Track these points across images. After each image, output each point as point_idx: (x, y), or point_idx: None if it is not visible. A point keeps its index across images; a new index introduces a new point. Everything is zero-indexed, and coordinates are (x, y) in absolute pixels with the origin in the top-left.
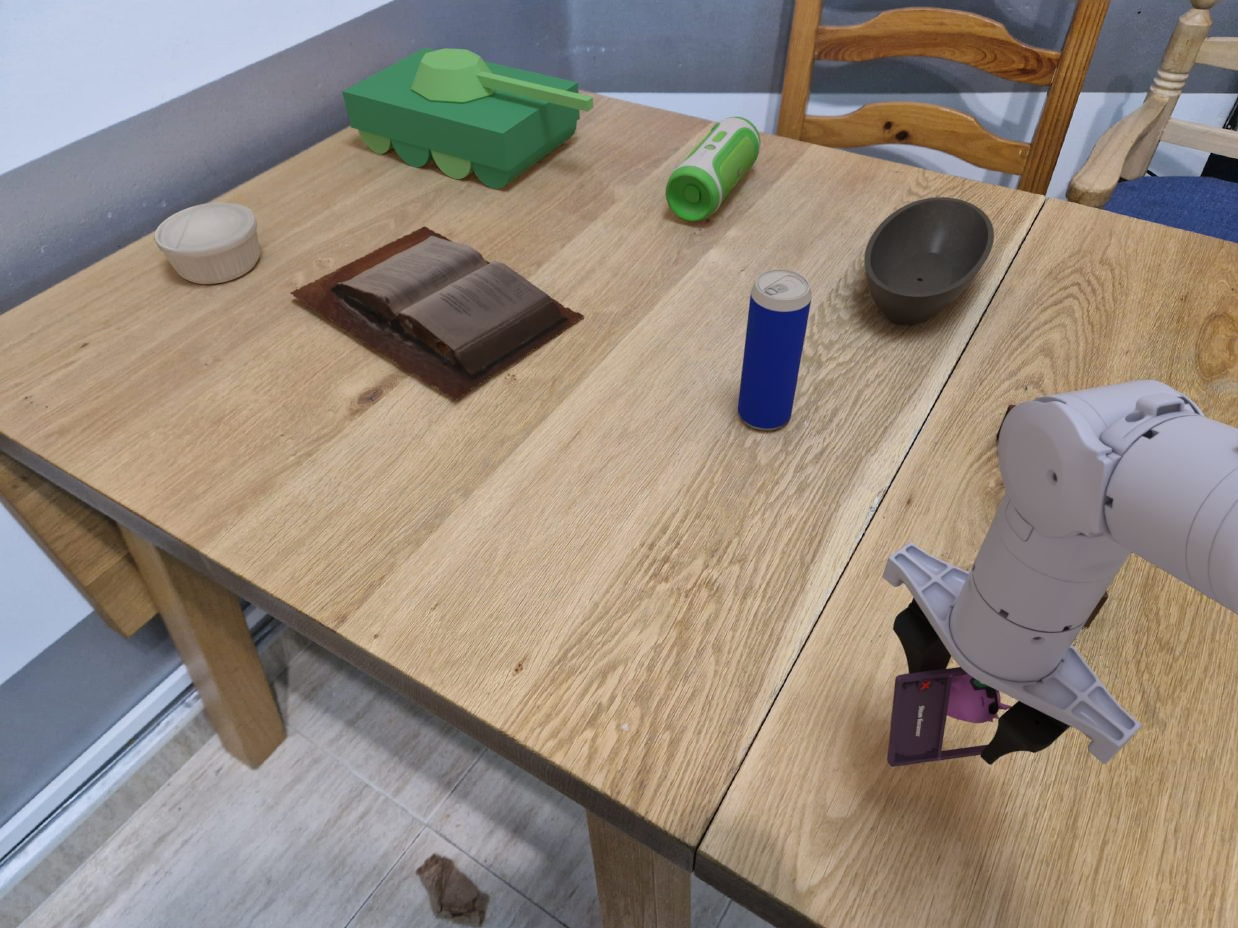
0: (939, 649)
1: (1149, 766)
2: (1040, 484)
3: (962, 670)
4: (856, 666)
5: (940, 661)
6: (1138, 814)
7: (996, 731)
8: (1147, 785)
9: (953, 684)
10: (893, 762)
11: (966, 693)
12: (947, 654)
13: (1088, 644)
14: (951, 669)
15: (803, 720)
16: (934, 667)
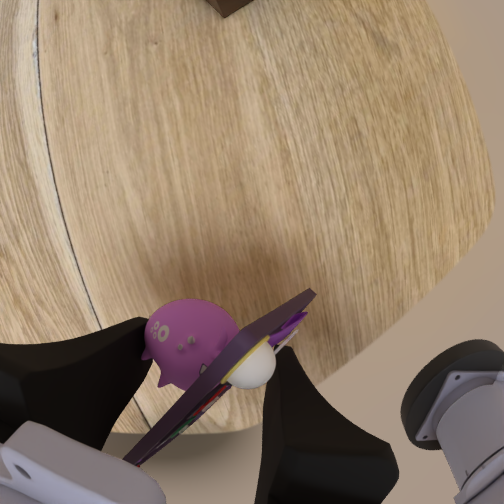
0: (91, 427)
1: (410, 104)
2: None
3: (142, 454)
4: (113, 225)
5: (118, 371)
6: (424, 167)
7: (257, 486)
8: (418, 128)
9: (160, 385)
10: (194, 420)
11: (185, 390)
12: (113, 359)
13: (287, 4)
14: (130, 457)
15: (122, 314)
16: (121, 380)
